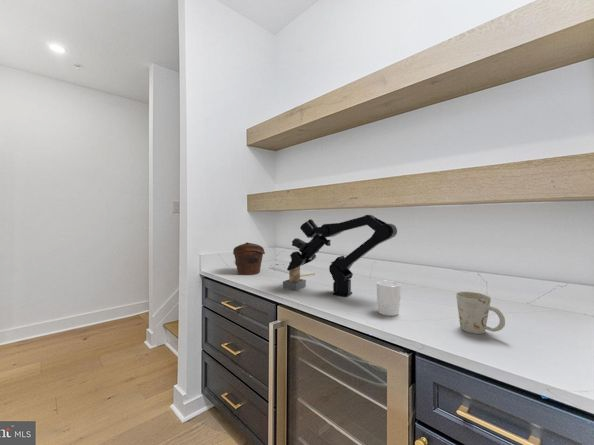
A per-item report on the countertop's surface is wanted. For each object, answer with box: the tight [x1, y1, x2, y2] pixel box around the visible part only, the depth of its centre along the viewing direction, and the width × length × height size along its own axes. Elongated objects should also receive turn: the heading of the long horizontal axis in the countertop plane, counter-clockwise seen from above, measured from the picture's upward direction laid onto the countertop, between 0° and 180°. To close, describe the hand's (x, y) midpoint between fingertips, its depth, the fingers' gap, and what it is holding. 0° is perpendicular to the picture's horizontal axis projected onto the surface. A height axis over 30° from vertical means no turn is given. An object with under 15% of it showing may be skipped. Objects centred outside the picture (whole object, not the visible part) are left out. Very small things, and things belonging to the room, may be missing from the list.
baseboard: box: [270, 263, 316, 278], centre depth 166 cm, size 31×3×12 cm
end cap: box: [282, 278, 307, 292], centre depth 127 cm, size 7×9×3 cm
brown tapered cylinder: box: [232, 242, 265, 276], centre depth 161 cm, size 18×20×18 cm
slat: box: [288, 261, 301, 283], centre depth 127 cm, size 3×4×11 cm, turn 150°
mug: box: [455, 291, 506, 335], centre depth 78 cm, size 8×13×10 cm, turn 28°
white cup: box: [376, 280, 402, 317], centre depth 94 cm, size 8×8×10 cm
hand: (291, 268), depth 128 cm, fingers open, 9 cm apart
